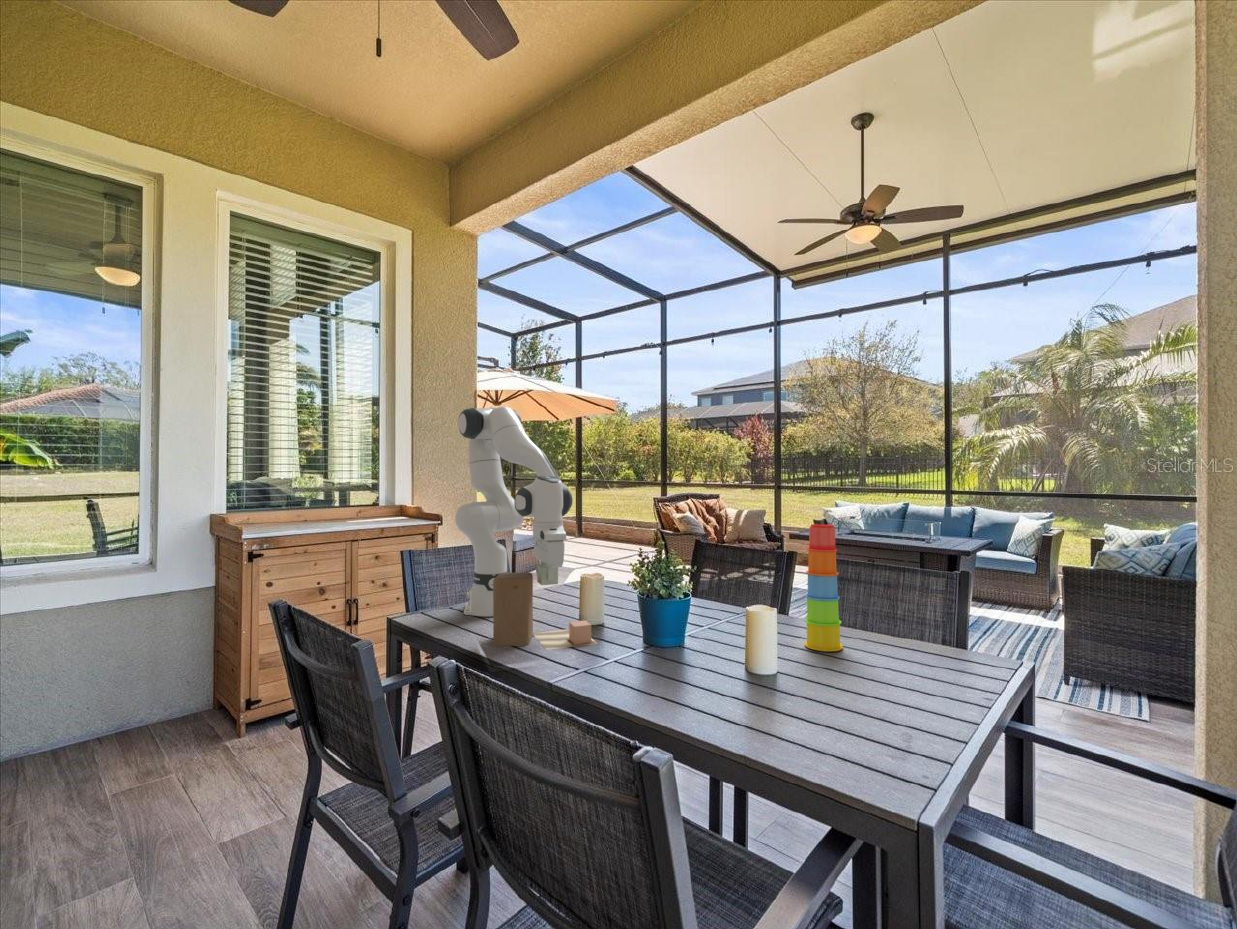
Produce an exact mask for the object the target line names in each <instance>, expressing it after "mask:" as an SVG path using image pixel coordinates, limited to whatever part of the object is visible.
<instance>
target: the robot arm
mask: <svg viewBox="0 0 1237 929" xmlns="http://www.w3.org/2000/svg"><path fill="white" fill-rule="evenodd" d="M457 424H458V425H457V426H458V430H459V432H460V434H461V435H462V437H463V438H464V439H465V438H466V439H469V441H468V466H469V475H470V484H471V486H472V488H473V489H474V490H476V491H478V492H479V493H480V494H482V495H483V497H484V499H485V501H472V502H468V503H465V504H462V505H461V506H459V507H458V509H457V510H456V513H455V519H454V521H455V524H456V527H457V529H458V530H459V532H462V534H464V535H465V536H466V537H467V538H468V540H469V541H470V543H471V545H472V548H473V553H474V554H473V555H474V572H473V577H472V578H473V581H472V582H473V585H472V587H471V588H470V590H469V591H468V592H466V600H467V602H466V603H465V606H464V610H463V615H464V614H465V616H474V617H493V581H494V579H495V578H496V577H497V576H498V575H499V574H500V573H509V571H508V550H507V549H506V546H504V545H503V544H501V543H499V542H497V541H496V539H495V535H494V533H498V532H509V531H511V530H515V529H517V528H520V527H521V526H522V524H523V523H524V520H525V518H533V521H532V537H533V538H534V543H533V544H534V545H533V554H534V555H533V556H534V557H535V558H536V559H537V560H539V565H548V573H547V579H548V580H553V579H554V573H555V569H556V568H557V567H558V568H562V567H563V564H564V561H565V559H564V558H565V548H566V547H565V541H566V540H567V532H566V531H565V528H564V517H565V516H566V514H568V512H570V510H571V508H572V506H573V495H572V493H571V491H570V489H569V488H568V487H567V486H566V484H564V482H563V481H562V480H561V478H560V477H559V475H558V473H557V471H556V470H555V468H554V466H553V464H551V462H550V460H549V458H548V457H547V455H546V454H545V452H544V451H543V450H542V449H541V448H540V447H539V446H538V445H536V444H535V443H534V442H533V441H532V439H530V437H529V436H528V435H527V432H526V430H525V429H524V426H523V423H522V417H521V415H520V414H519V412H518V411H517V410H515V409H512V408H510V407H509V406H504V405H503V406H501V405H500V406H497V407H493V406H492V407H480V408H474V407H471V408H466V409H463V410H462V411H461V412H460V413H459V416H458V423H457ZM501 459H502V460H504V461H507V462H509V463H512V464H515V465H516V464H517V465H520V466H523V467H525V468H528V469H530V470H532V471H533V472H534V473H535V474H536V475H537V476H536V477H535V479H534V481H533V482H532V483H530V484H528V485H526V486H522V487H520V488H519V489H518V490H517V491H516V493H515V495H514V497H513V496H512V494H510V492H509V490H508V489H507V487H506V484H505V481H504V477H503V476H504V475H503V469H502V463H501Z"/></svg>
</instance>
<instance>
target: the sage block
mask: <svg viewBox="0 0 1237 929" xmlns="http://www.w3.org/2000/svg"><path fill="white" fill-rule="evenodd" d="M536 572H537V573H536V578H537V579H536V582H537V583H538V584H539V585H540V586H550V585H552V586H553V585H559V567H557V568H556V569H555V573H554V579H553V580H548V579H547V573H548V565H540V564H537V566H536Z"/></svg>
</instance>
